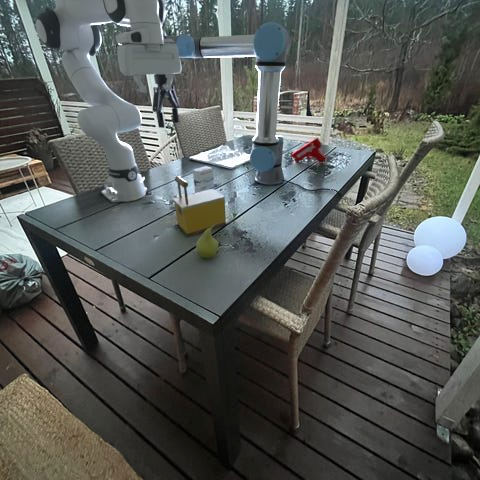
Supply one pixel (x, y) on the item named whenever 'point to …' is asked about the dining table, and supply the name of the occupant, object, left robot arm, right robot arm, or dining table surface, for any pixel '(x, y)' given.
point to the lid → (194, 196)
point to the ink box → (203, 179)
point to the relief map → (223, 157)
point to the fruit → (207, 244)
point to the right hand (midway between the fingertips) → (169, 125)
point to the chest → (201, 217)
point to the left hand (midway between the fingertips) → (156, 91)
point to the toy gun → (309, 151)
